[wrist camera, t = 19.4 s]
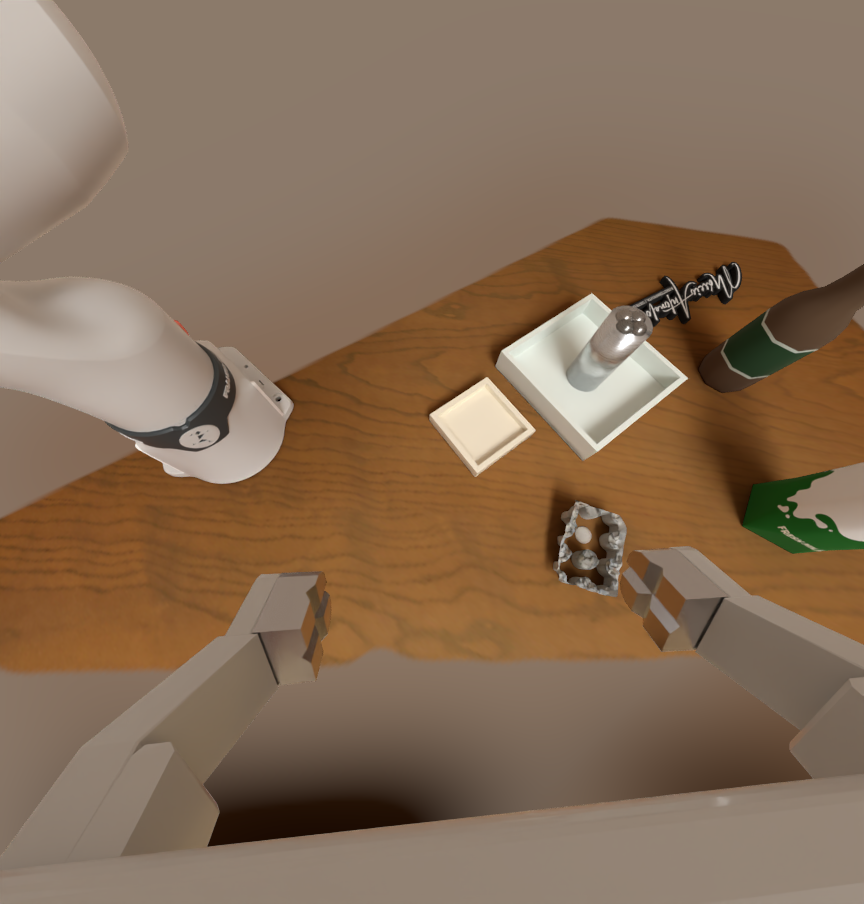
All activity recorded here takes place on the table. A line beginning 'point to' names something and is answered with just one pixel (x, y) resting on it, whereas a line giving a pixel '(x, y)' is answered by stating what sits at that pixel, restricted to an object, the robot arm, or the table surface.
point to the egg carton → (587, 557)
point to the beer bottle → (784, 334)
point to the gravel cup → (609, 347)
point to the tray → (481, 426)
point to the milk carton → (810, 511)
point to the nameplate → (690, 294)
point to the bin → (576, 412)
